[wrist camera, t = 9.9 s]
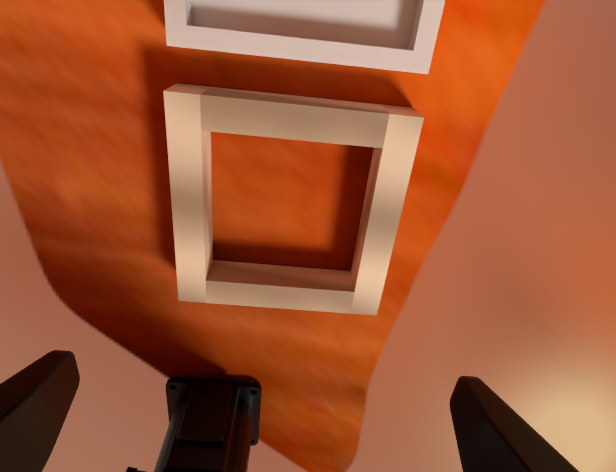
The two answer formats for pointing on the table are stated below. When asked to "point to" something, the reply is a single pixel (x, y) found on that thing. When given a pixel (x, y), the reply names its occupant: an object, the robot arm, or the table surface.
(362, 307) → the holder
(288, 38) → the tray
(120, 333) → the table surface
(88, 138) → the table surface
